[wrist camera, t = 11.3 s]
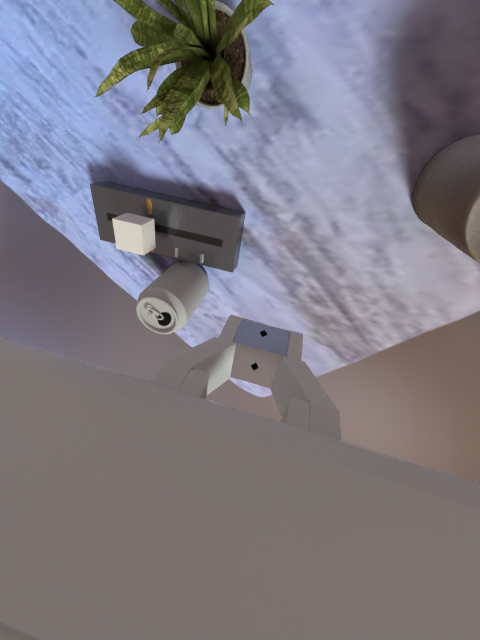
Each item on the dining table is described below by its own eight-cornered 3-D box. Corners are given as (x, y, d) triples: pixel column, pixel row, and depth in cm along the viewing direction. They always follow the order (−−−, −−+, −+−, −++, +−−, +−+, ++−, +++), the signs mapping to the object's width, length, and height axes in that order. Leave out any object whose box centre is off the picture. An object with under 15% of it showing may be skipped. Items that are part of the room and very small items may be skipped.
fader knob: (134, 209, 36) (112, 218, 33) (160, 215, 36) (141, 225, 32) (137, 237, 39) (116, 248, 35) (161, 243, 38) (143, 255, 34)
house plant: (145, -25, 26) (-29, -188, 13) (285, -77, 22) (239, -381, 9) (181, 146, 34) (95, 152, 21) (288, 129, 30) (266, 123, 17)
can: (196, 305, 48) (166, 347, 38) (163, 279, 46) (123, 316, 37) (219, 278, 43) (191, 318, 34) (182, 249, 42) (143, 282, 32)
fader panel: (103, 181, 39) (89, 184, 36) (245, 212, 36) (240, 217, 34) (112, 233, 43) (99, 239, 41) (237, 264, 41) (232, 272, 39)
